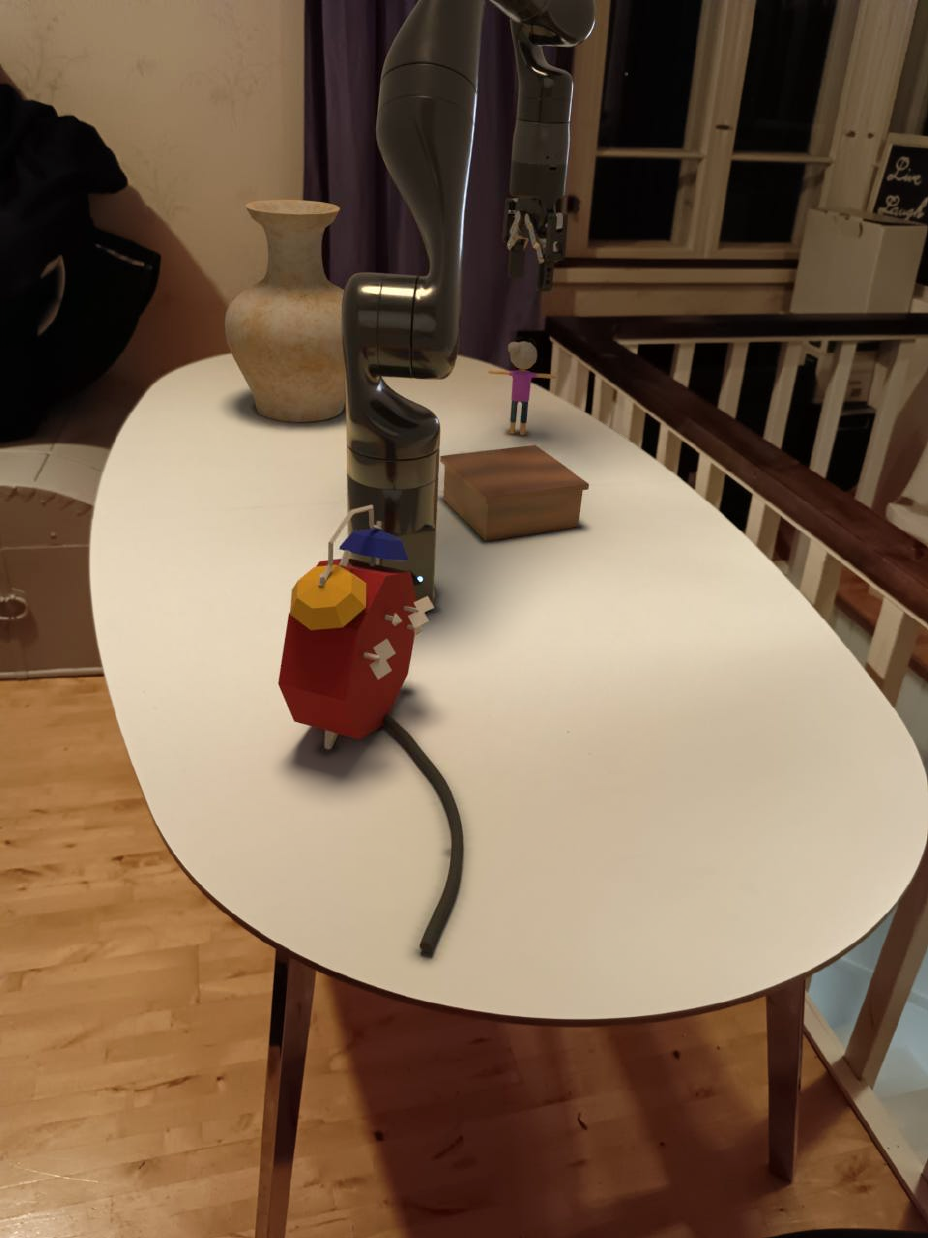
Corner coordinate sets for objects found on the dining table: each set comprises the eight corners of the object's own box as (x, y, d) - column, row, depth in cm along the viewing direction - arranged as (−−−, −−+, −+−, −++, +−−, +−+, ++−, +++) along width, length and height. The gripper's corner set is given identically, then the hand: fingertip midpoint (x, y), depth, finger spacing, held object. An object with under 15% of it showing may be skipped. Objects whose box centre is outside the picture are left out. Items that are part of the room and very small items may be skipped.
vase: (214, 425, 145) (195, 212, 129) (250, 382, 164) (238, 191, 148) (357, 435, 144) (355, 222, 129) (377, 390, 163) (378, 200, 148)
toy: (550, 432, 150) (560, 336, 142) (550, 445, 145) (560, 346, 137) (484, 427, 150) (491, 331, 143) (481, 439, 146) (488, 340, 138)
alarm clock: (357, 665, 91) (355, 469, 81) (441, 687, 89) (451, 488, 79) (280, 756, 79) (267, 539, 69) (375, 784, 77) (376, 564, 67)
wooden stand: (583, 527, 120) (589, 483, 117) (483, 543, 115) (487, 497, 112) (531, 485, 131) (535, 444, 128) (438, 498, 126) (439, 455, 123)
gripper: (491, 152, 132) (483, 274, 140) (540, 165, 121) (529, 296, 129) (539, 152, 135) (528, 272, 143) (591, 165, 124) (577, 294, 132)
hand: (529, 284), depth 136 cm, fingers open, 8 cm apart
